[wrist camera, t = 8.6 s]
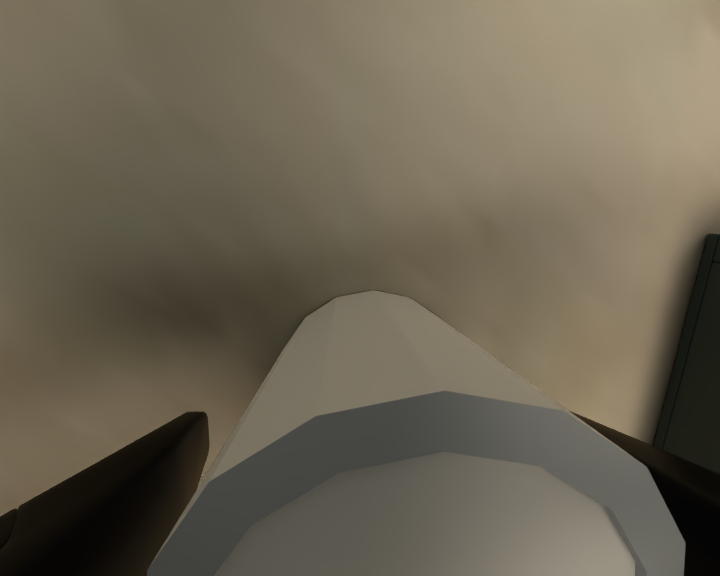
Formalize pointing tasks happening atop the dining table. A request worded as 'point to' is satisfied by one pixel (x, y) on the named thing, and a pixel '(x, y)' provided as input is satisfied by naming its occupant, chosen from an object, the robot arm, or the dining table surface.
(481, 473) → the shot glass
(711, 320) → the divided green tray
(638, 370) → the dining table surface
